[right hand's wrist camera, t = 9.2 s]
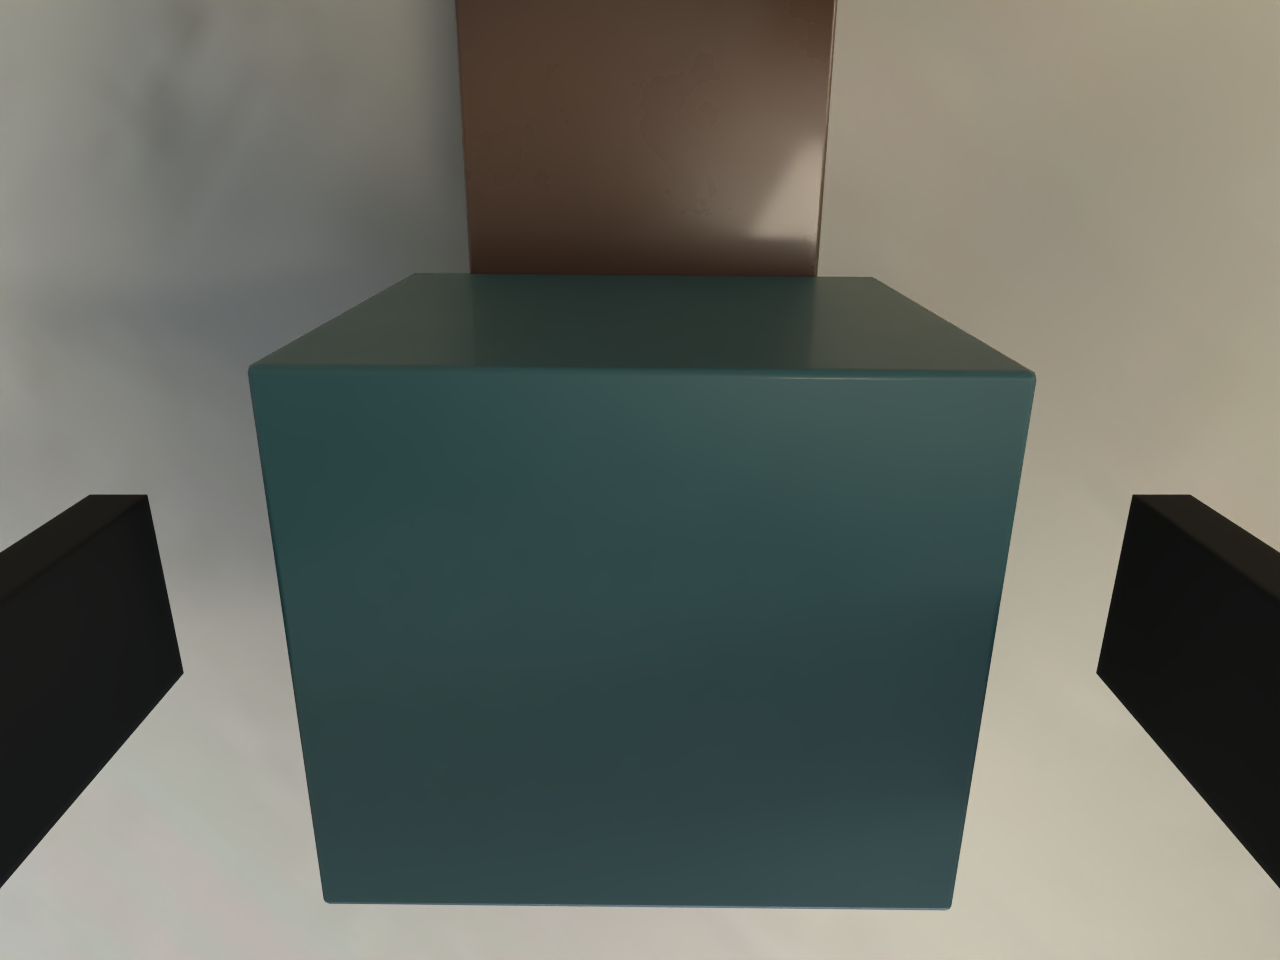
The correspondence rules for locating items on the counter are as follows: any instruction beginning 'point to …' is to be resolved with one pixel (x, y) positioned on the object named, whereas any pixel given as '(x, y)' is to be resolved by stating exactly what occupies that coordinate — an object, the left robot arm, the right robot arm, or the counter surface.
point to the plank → (645, 135)
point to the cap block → (640, 587)
